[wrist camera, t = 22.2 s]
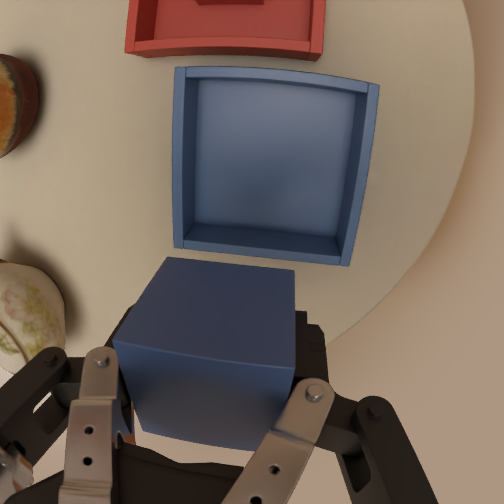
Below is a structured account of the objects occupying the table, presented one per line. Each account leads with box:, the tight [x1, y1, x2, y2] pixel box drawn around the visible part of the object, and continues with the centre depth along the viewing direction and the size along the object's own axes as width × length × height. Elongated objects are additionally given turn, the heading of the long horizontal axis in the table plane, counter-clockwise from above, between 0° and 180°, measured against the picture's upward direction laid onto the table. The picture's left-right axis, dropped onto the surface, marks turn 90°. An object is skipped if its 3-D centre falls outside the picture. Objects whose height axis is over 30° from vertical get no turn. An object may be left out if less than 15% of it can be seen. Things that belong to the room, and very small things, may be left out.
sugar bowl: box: [0, 259, 65, 375], centre depth 28 cm, size 20×15×15 cm
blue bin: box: [172, 66, 380, 267], centre depth 23 cm, size 14×14×4 cm
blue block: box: [112, 257, 295, 451], centre depth 11 cm, size 5×5×5 cm
